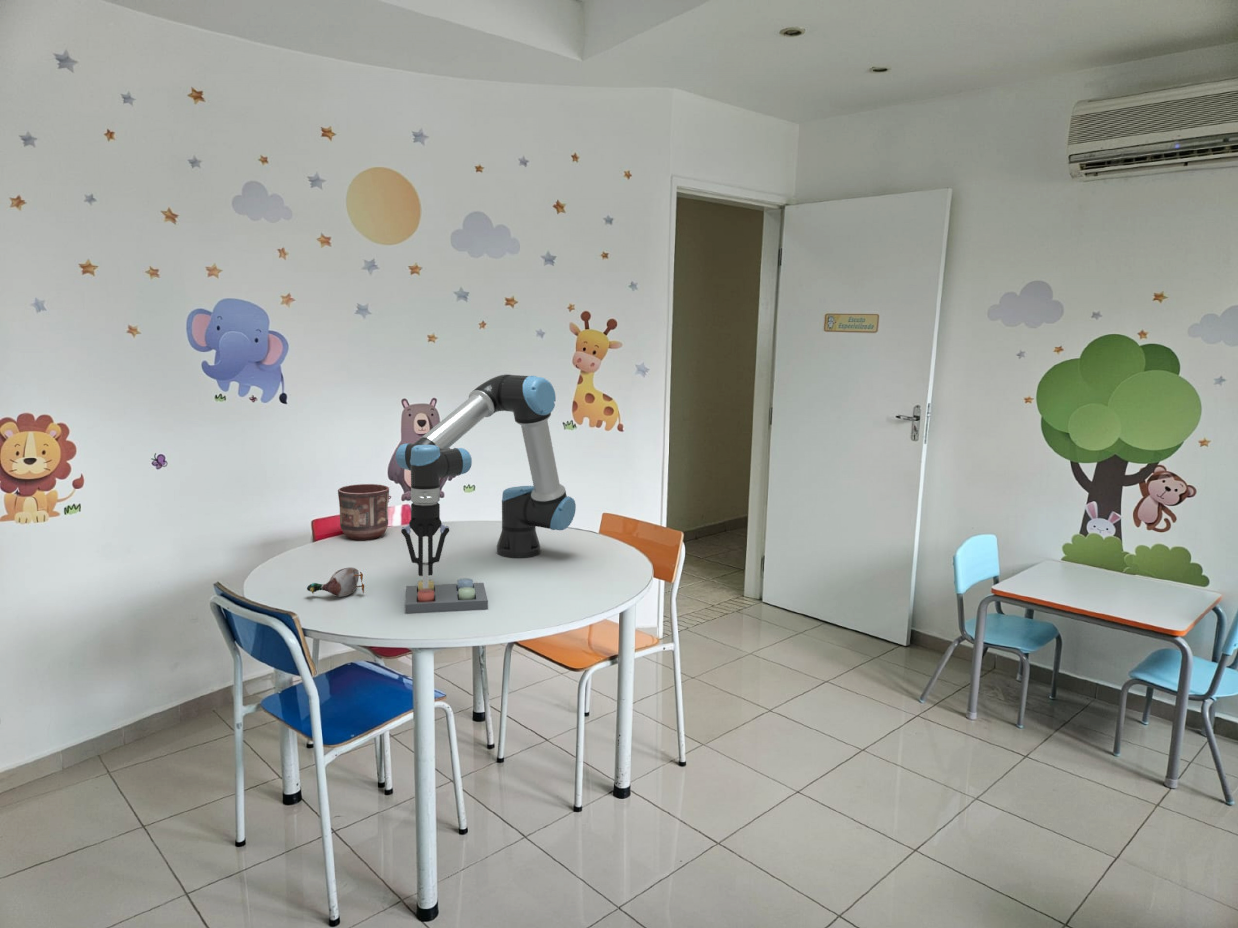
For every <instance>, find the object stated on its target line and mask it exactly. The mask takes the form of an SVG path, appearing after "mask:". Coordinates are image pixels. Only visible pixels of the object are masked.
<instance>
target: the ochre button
mask: <svg viewBox="0 0 1238 928" xmlns="http://www.w3.org/2000/svg"><path fill="white" fill-rule="evenodd" d="M434 585H435V581H434V580H430V579H428V588H423V579H422V580H420V581H419V580H418V582H417V586H418V591H419V590H422V589H432V590H434Z"/></svg>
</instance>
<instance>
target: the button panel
mask: <svg viewBox="0 0 1238 928" xmlns="http://www.w3.org/2000/svg"><path fill="white" fill-rule="evenodd" d="M405 588H406V589H405V601H404V614H407V615H408V614H421V613H422V614H423V613H425V614H426V613H440V612H441V613H442V612H444V613H445V612H460V611H461V612H462V611H481V610H484V611H485V610H488V608H489V603H488V602H489V600H488V595H487V591H486V587H485V583H484V582H473V588H474V589H475V599H474V600H459V591H457V583H446V584H445V583H442V584H434V601H432V602H418V585H406V587H405Z"/></svg>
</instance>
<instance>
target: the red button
mask: <svg viewBox="0 0 1238 928" xmlns="http://www.w3.org/2000/svg"><path fill="white" fill-rule="evenodd" d="M432 601H434V590H432V589H422V590H419V591H418V602H432Z"/></svg>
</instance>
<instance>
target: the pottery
mask: <svg viewBox="0 0 1238 928" xmlns="http://www.w3.org/2000/svg"><path fill="white" fill-rule="evenodd" d="M337 496H338V504H339V525H340V529H341V531H342V533H343V534H344V536H345V537H347V539H349V540H353V541H372V540H375V539H378V538H380V537H381V536H383V535H384V533H385V532H386V530H387V528H388V526H389V511H388V510H389V496H390V487H389V486H386V485H383V484H374V483H363V484H362V483H361V484H351V485H345V486H342V487H339V488H338V490H337Z"/></svg>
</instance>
